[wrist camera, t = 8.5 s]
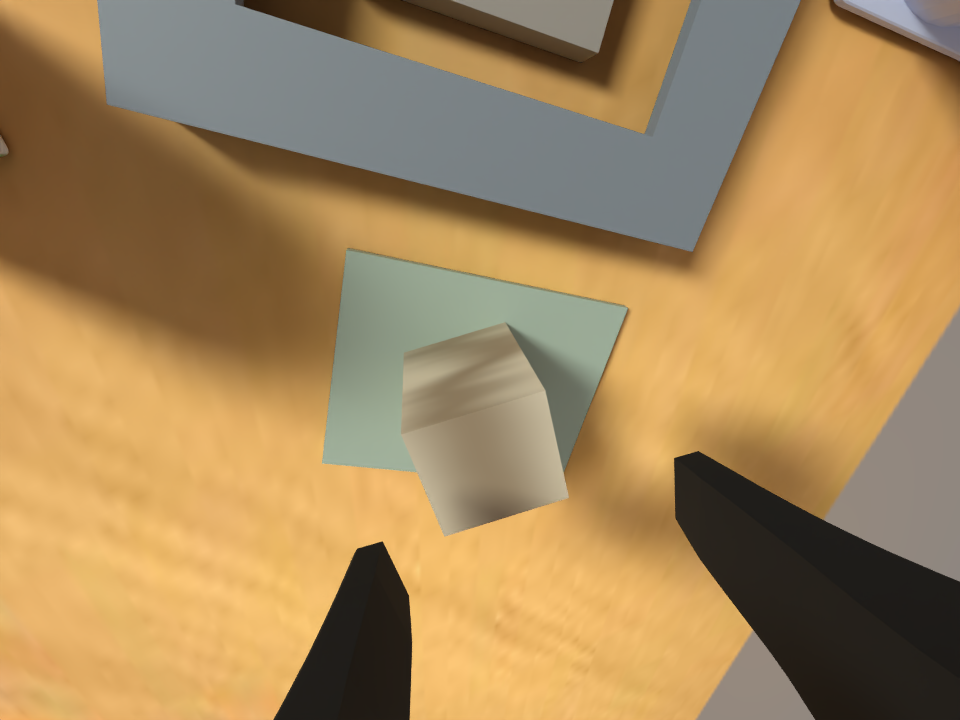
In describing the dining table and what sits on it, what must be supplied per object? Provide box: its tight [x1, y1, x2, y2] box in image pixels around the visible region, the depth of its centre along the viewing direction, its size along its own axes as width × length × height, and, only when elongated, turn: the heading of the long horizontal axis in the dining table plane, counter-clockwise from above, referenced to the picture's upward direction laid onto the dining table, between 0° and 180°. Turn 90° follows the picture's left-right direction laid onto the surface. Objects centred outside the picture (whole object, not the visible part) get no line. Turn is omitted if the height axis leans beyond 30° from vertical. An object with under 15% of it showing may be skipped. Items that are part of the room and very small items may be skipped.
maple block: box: [401, 322, 569, 536], centre depth 16 cm, size 4×4×6 cm
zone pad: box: [322, 248, 628, 473], centre depth 19 cm, size 12×10×1 cm
